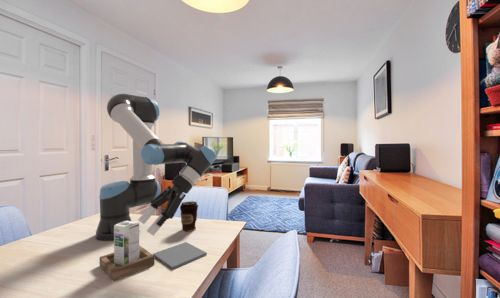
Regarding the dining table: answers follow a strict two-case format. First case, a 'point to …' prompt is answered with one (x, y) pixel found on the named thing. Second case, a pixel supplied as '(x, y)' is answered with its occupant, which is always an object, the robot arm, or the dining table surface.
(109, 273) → the walnut holder
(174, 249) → the rubber mat
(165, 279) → the dining table surface
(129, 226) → the syrup box
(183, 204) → the coffee cup
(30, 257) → the dining table surface
